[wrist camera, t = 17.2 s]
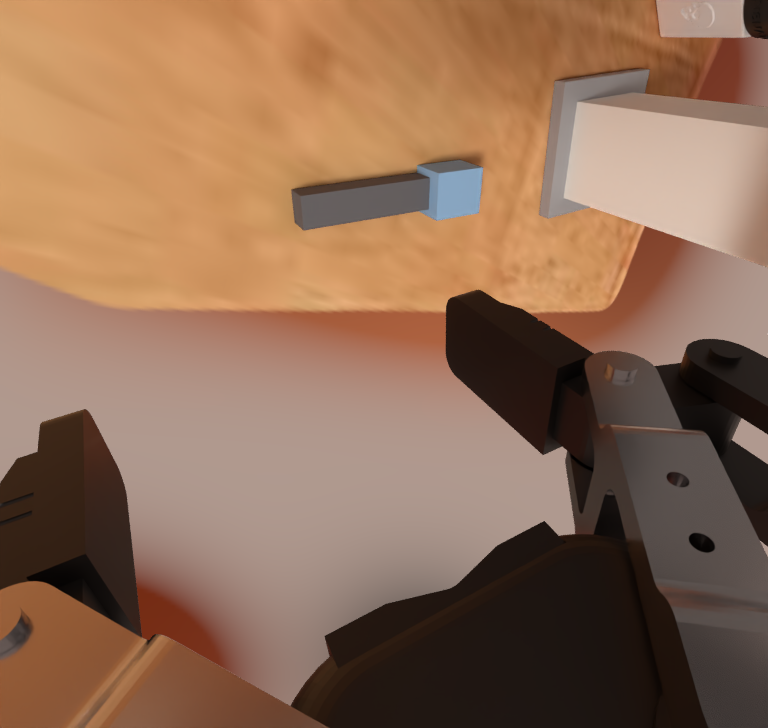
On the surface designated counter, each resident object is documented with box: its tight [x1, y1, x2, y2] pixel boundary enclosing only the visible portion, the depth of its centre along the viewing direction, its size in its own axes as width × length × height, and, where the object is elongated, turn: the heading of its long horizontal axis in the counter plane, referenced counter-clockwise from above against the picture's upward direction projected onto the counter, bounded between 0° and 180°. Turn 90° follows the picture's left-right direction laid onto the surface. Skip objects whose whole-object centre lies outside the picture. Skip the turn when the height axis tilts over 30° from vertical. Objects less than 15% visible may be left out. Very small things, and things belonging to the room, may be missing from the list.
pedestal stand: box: [539, 69, 768, 335], centre depth 45 cm, size 18×14×32 cm
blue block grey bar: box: [291, 160, 483, 230], centre depth 48 cm, size 18×4×4 cm, turn 91°
